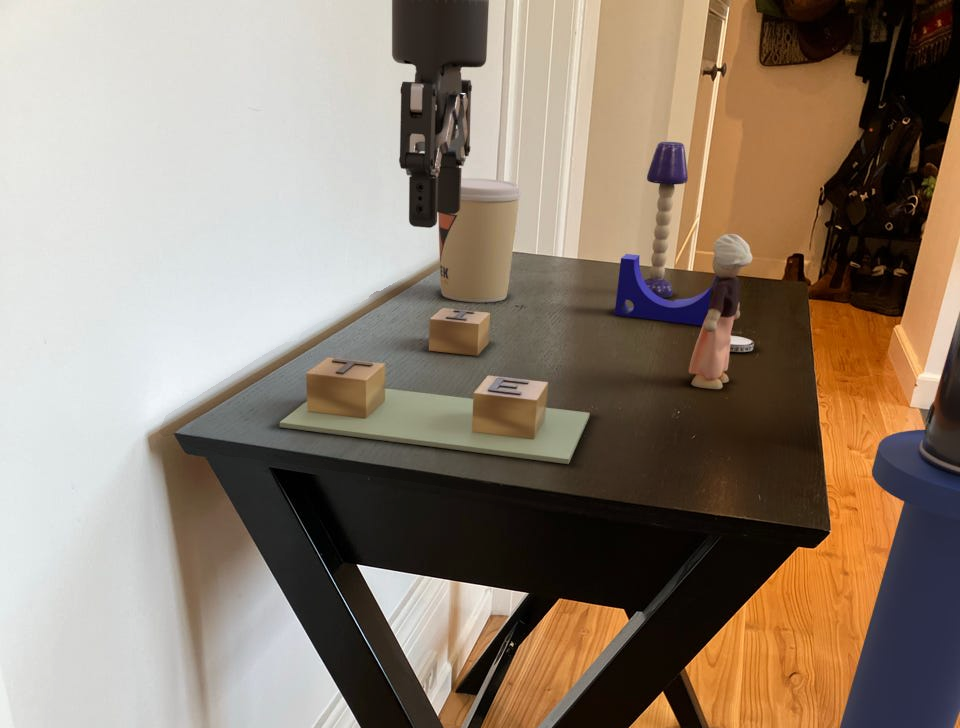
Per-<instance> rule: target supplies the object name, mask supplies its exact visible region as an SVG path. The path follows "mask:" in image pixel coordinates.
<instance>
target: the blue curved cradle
mask: <svg viewBox="0 0 960 728" xmlns="http://www.w3.org/2000/svg"><path fill="white" fill-rule="evenodd" d="M640 256H641V255H640V254H631V253H625V254H624V255H623V256H622V257H620V263H619V271H618V272H619V273H618V280H617V289H616V297H615V308H614V315H615V316H621V317H622V316H623V317H630V318H638V319H646V320H647V319H648V320H653V321H654V320H655V321H663V322H670V323H678V324H687V325H695V326H701V327H702V326H703V323H704V321H705V318H706V316H707V314H708V309H709V301H710V293H711V289H712V286H713V285H714V283H715V282H716V280H717V278H718V276H717V275H716V274H715V278H714V280H713V283H712V285H711V286H710V287H709V288H707V289H706V290H704V291H703V292H702V293H700V294H698V295H696V296H693V297H690V298H689V297H688V298H684V299H683V298H682V299H678V298H676V299H675V300H674V301H671V300H668V299H666V298H660V297H659V296H657V295H656V294H654V293H653V292H652V291H651V290H650V289H649V288H648V286H647V285H646V283H645V282H644V280H645V279H644V278H643V275H642V271H641V266H640V265H641V264H640ZM626 301H630V302H631V303H632V306H633V307H629V306H628V305H627V304H626V303H627V302H626Z"/></svg>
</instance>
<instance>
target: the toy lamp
mask: <svg viewBox="0 0 960 728" xmlns="http://www.w3.org/2000/svg"><path fill="white" fill-rule="evenodd" d="M687 166H688V165H687V157H686V149H685V145H684V143H682V142H677V141H660V142H659V143H657V145H656V148H655V151H654V154H653V156H652V160H651V162H650V165H649V168H648V172H647V175H646V180H647V182H649V183H652V184H659V186H658V196H659V197H658V199H657V203H656V207H657V212H656V215H655V223H656V224H655V227H654V231H653V235H654V240H653V242H652V251H653V252H652V255H651V259H650V260H651V267H650V269H649V277H648V278H646V279H644V282H645V283H646V285H647V286H648V288H649V289H650V290H651V291H652V292H653V293H654V294H656V295H657V296H659V297H660V298H662V299H669V298H671V297H673V296H674V292H673V287H672V284H671V283H670V281H668V280H667V279H665V278H664V277H665V274H666V268H665V264H666V262H667V251H668V248H669V241H668V238H669V236H670V233H671V229H670V228H671V227H670V224H671V221H672V212H671V211H672V209H673V205H674V199H673V196H674V194H675V188H676V187H675V185H684V184H686V183H687V182H688V180H689V179H688V177H689V176H688V175H689V174H688V167H687Z"/></svg>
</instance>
